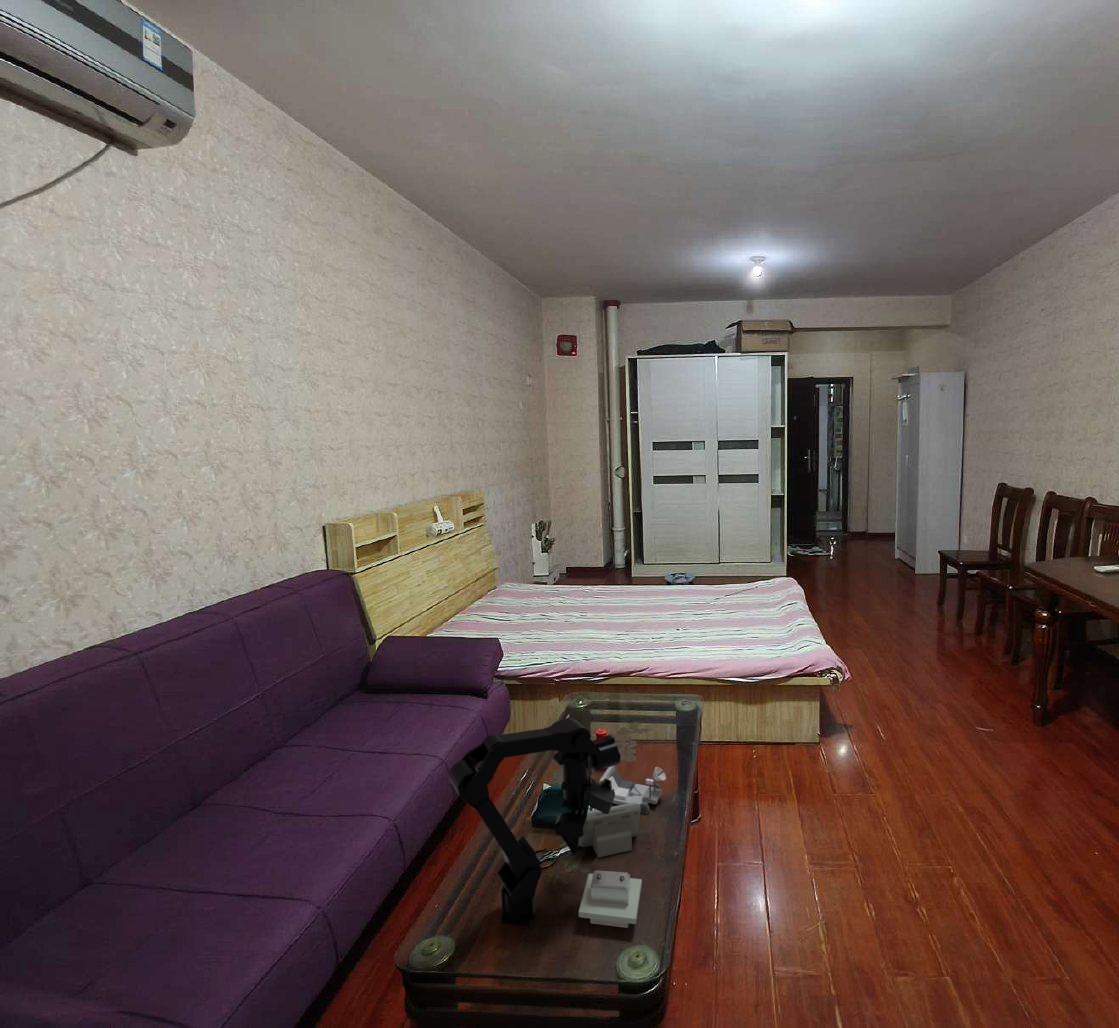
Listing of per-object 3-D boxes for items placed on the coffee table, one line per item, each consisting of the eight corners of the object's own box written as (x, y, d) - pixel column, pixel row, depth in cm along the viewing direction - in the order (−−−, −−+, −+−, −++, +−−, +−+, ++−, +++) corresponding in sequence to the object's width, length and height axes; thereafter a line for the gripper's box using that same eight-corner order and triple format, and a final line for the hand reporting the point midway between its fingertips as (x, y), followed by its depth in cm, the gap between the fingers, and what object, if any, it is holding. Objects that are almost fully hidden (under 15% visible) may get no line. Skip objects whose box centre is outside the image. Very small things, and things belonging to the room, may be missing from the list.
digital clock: (638, 832, 171) (637, 793, 169) (645, 854, 162) (643, 814, 160) (576, 836, 170) (574, 798, 169) (579, 859, 161) (577, 819, 160)
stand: (579, 929, 139) (578, 912, 138) (589, 889, 151) (588, 873, 150) (636, 936, 136) (635, 919, 136) (642, 895, 148) (641, 879, 147)
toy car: (669, 762, 186) (657, 783, 176) (669, 795, 187) (658, 818, 177) (608, 752, 193) (594, 772, 183) (610, 783, 195) (596, 804, 184)
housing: (628, 905, 140) (627, 886, 139) (591, 902, 141) (590, 883, 141) (630, 888, 145) (629, 870, 144) (594, 885, 146) (593, 867, 145)
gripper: (604, 803, 136) (607, 871, 139) (617, 757, 154) (619, 819, 157) (552, 798, 139) (556, 866, 141) (570, 754, 157) (573, 815, 159)
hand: (578, 840), depth 149 cm, fingers open, 9 cm apart
